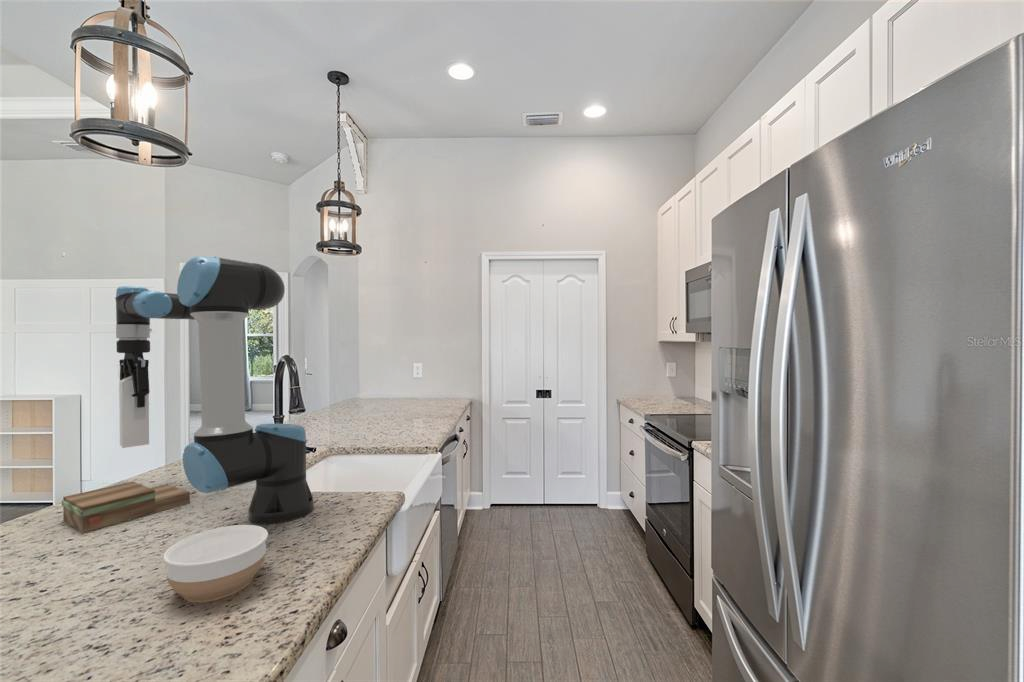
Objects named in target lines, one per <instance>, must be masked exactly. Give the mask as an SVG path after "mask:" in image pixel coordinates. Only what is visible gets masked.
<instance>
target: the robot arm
mask: <svg viewBox="0 0 1024 682" xmlns="http://www.w3.org/2000/svg"><path fill="white" fill-rule="evenodd" d="M176 286H177V287H176V292H177V293H169V292H162V291H158V290H149V289H148V288H147V287H143V286H132V285H129V286H128V285H126V286H118V287H117V288H116V294H115V298H114V299H115V310H116V312H115V313H116V314H115V315H116V316H115V317H116V325H115V338H116V339H118V340H117V341H116V352H117V354H124V357H123V359H119V361H118V362H119V381H120V380H122V379H124V378H127V377H129V376H131V375H132V380H133V387H134V393H135V394H133V395H131V396H132V397H133V419H142V418H146V395H147V394H149V395H150V379H149V377H150V376H149V375H150V374H149V364H150V363H149V362H150V361H149V359H145V358H144V354H145V353H150V352H151V341H150V338H151V332H152V328H150V327H151V319H159V320H160V319H161V320H162V319H163V320H195V321H196V322H197V324H198V349H199V350H198V352H199V354H198V355H199V356H198V357H199V375H200V377H199V381H200V382H199V383H200V384H199V385H200V409H201V412H200V413H201V415H200V416H201V426H200V427H199V428H197V430H196V431H195V432H194V433H193V442H191V443H189V444H188V445H186V446H185V447H184V449H183V453H182V467H183V470H184V473H185V475H186V478H187V480H188V481H189V483H190V485H191V486H192V488H194V489H195V490H196V491H197V492H200V493H204V494H208V493H213V492H217V491H218V492H219V491H226V490H227V489H229V488H234V487H237V486H240V485H244V484H248V483H251V482H254V481H255V488H254V492H253V494H252V498H251V500H250V504H249V507H248V513H247V514H248V515H247V516H248V517H247V519H248V520H249V522H251V523H255V524H258V525H259V524H262V525H263V524H264V525H266V524H267V525H268V524H269V525H270V524H278V523H279V524H281V523H285V522H290V521H293V520H296V519H300V518H302V517H304V516H306V515H308V514H310V513H312V511H313V510H314V504H315V503H314V497H313V495H312V492H311V489H310V486H309V484H308V481H307V443H308V442H307V436H306V429H305V428H304V426H302V425H301V424H300V425H299V424H295V423H293V424H292V423H261V424H260V423H259V424H258V425H256V426H255V429H254V428H253V426H252V425H251V424H250V423H248V422H247V421H246V409H245V408H246V404H245V378H244V376H245V374H244V373H245V372H244V350H243V349H244V348H243V322H244V320H245V319H246V318H247V317H249V310H253V311H262V310H268V309H272V308H274V307H276V306H277V305H279V304H280V303H281V302H282V300H283V298H284V296H285V291H286V290H285V289H286V288H285V287H286V286H285V283H284V281H283V278H282V277H281V275H279V273H277V271H275V270H274V269H272V268H271V267H269V266H267V265H263V264H260V263H255V262H254V263H253V262H249V261H248V262H247V261H241V260H236V259H235V260H234V259H229V258H224V257H223V258H222V257H219V256H205V255H200V256H199V255H196V256H193V257H191V258H190V259H189V260H188V261H187V262H185V264H184V265H183V267H182V269H181V270H180V273H179V277H178V280H177V285H176ZM148 339H149V340H148ZM135 370H136V371H135Z"/></svg>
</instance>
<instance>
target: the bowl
mask: <svg viewBox="0 0 1024 682" xmlns="http://www.w3.org/2000/svg"><path fill="white" fill-rule="evenodd" d="M268 537H269V531H267V529H266V528H264V527H262V526H260V525H255V524H236V525H235V524H234V525H226V526H221V527H217V528H216V527H215V528H212V529H211V528H210V529H208V530H204V531H201V532H198V533H195V534H192V535H190V536H187V537H186V538H183V539H181V540H178V541H177V542H175V543H174V544H172V545H171V546H169V547H168V549H166V550H165V552H164V554H163V557H162V558H163V560H164V563H165V564H166V569H165V570H166V579H167V583H168V585H169V586H170V587H171V589H172V590H173V591H174V593H175V592H176V593H177V594H179V595H180V596H182V598H183V600H185V601H186V600H187V601H186V602H189V601H190V602H189V603H196V602H199V603H208V602H212V601H213V602H214V601H217V600H222V599H225V598H228V597H230V596H233V595H235V594H236V593H238V592H240V591H242V590H243V589H245V588H247V586H248V585H250V584H251V582H252V580H253V578H254V576H255V575H257V573H258V572H259V571H260V569H261V567H262V565H263V564H264V561H265V558H266V557H265V556H266V552H267V539H268ZM227 596H228V597H227ZM221 598H222V599H221Z"/></svg>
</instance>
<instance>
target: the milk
mask: <svg viewBox="0 0 1024 682" xmlns="http://www.w3.org/2000/svg"><path fill="white" fill-rule="evenodd" d="M135 371H136V370H135ZM118 384H119V386H118V387H119V389H118V392H119V393H118V396H119V397H118V400H119V401H118V403H119V406H118V407H119V446H121V448H122V449H124V448H133V447H139V446H147V445H150V402H149V401H150V400H149V399H150V396H149V395H150V393H149V394H147V395H146V418H142V419H133V397H132V396H131V395H133V394H135V393H134V387H133V380H132V375H131V376H129V377H127V378H124V379H122V380H120V379H119V381H118Z"/></svg>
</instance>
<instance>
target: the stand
mask: <svg viewBox="0 0 1024 682" xmlns="http://www.w3.org/2000/svg"><path fill="white" fill-rule="evenodd" d="M190 494H191V493H190V491H187V490H184V489H182V488H178V487H176V486H173V485H170V484H168V483H165V484H162V485H158V486H155V487H154V486H153V487H148V486H145V485H143V484H140V483H137V482H135V481H129V482H125V483H120V484H116V485H111V486H106V487H102V488H97V489H93V490H88V491H85V492H79V493H75V494H70V495H66V496H63V498H62V500H61V506H62V507H63V509H62V510H63V513H62V514H63V522H65V523H66V524H68V525H69V526H71V527H73V529H76V530H77V531H79V532H81V533H83V534H84V532H85V533H88V532H92V531H95V530H99V529H102V528H101V527H103V528H106V527H110V526H112V525H111V524H113V525H117V524H119V522H120V523H123V522H122V521H124V522H126V520H128V521H130V520H129V519H131V520H134V519H133V518H135V519H137V518H136V517H138V518H141V517H140V516H142V517H145V516H148V515H147V514H149V515H152V514H151V513H153V514H156V513H159V512H162V511H166V510H170V509H173V508H176V507H177V506H178V507H180V505H181V506H184V504H185V505H187V503H188V504H190V503H191V499H190V498H191V495H190ZM178 507H177V508H178ZM144 515H145V516H144ZM116 523H117V524H116ZM109 525H110V526H109ZM105 526H106V527H105ZM98 528H99V529H98ZM94 529H95V530H94ZM91 530H92V531H91ZM87 531H88V532H87Z"/></svg>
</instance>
